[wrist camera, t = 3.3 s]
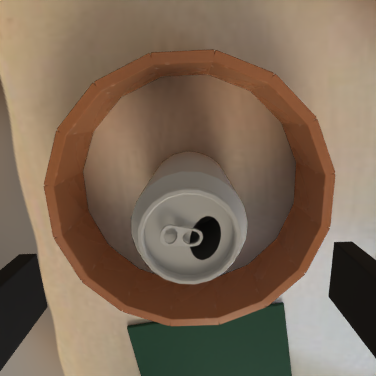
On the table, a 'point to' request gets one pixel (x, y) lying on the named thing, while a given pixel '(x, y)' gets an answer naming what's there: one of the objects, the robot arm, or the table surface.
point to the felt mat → (215, 347)
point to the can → (189, 220)
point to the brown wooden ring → (152, 283)
